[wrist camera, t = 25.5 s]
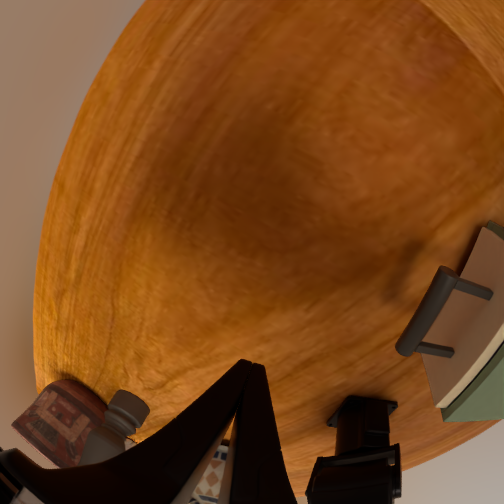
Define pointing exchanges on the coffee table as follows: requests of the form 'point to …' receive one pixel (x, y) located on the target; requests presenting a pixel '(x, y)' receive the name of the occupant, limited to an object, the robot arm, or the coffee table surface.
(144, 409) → the candle holder
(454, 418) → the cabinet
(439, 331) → the drawer
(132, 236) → the coffee table surface
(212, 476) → the patterned domed piece
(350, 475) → the robot arm
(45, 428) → the pottery
